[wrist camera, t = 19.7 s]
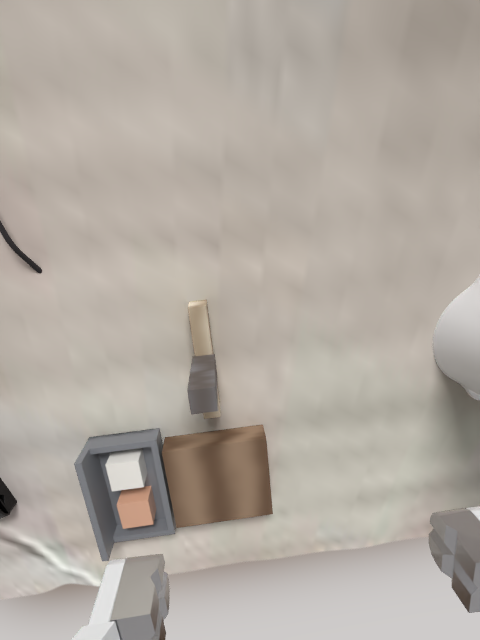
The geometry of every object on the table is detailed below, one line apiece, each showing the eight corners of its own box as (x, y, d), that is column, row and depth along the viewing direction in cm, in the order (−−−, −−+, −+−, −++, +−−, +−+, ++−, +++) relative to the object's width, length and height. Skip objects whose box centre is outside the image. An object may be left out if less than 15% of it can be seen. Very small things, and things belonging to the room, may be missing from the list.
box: (159, 428, 44) (152, 453, 39) (176, 518, 48) (172, 550, 43) (89, 437, 43) (74, 464, 39) (113, 527, 48) (102, 561, 43)
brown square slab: (262, 424, 45) (266, 438, 42) (269, 496, 48) (272, 513, 45) (165, 437, 44) (161, 452, 41) (178, 509, 48) (176, 527, 45)
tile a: (105, 465, 41) (111, 451, 44) (112, 491, 42) (117, 477, 45) (138, 460, 41) (142, 447, 44) (143, 487, 43) (147, 473, 45)
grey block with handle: (208, 299, 40) (207, 327, 29) (221, 403, 44) (224, 462, 33) (187, 301, 39) (178, 331, 29) (202, 406, 44) (199, 465, 33)
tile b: (116, 504, 43) (121, 489, 45) (122, 528, 44) (127, 513, 47) (147, 500, 43) (151, 485, 46) (153, 524, 44) (156, 508, 47)
